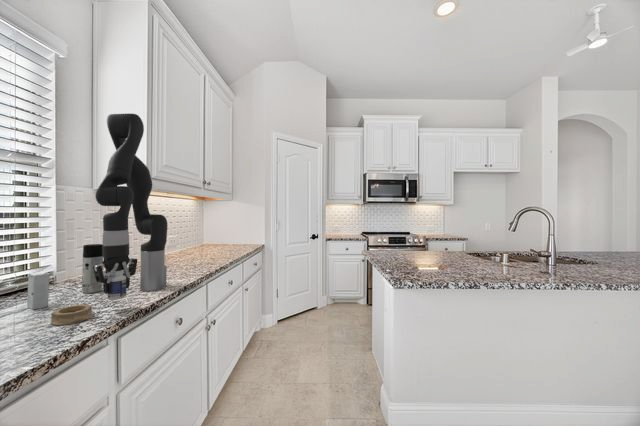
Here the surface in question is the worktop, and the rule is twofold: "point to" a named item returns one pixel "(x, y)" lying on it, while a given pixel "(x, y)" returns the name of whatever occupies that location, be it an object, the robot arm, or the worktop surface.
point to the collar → (71, 314)
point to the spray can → (91, 267)
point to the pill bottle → (118, 286)
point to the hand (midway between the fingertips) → (116, 290)
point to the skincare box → (38, 290)
